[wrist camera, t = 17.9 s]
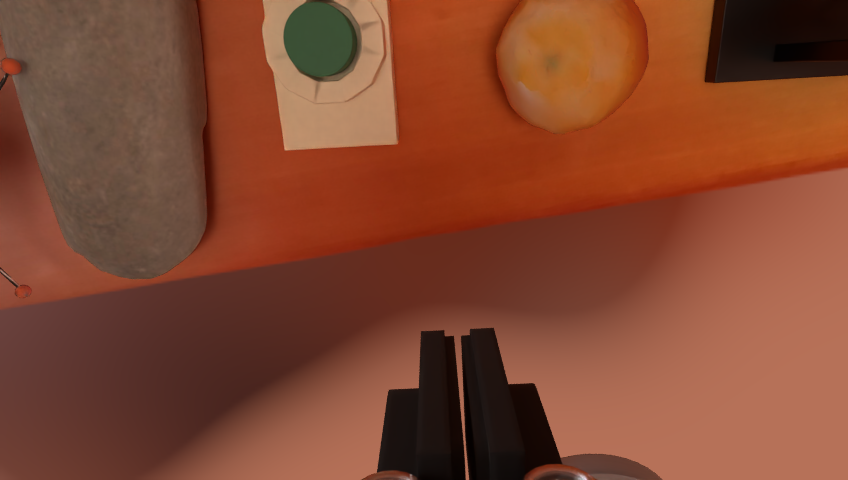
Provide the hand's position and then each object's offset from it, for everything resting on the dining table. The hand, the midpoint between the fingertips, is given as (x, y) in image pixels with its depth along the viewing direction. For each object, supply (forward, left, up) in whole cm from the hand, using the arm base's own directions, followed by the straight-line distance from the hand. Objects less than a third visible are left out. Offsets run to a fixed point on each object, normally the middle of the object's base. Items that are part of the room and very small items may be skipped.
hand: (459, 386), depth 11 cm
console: (+9, +6, -23) cm, 25 cm away
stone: (+7, +14, -19) cm, 25 cm away
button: (+9, +6, -20) cm, 22 cm away
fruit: (+7, -8, -23) cm, 26 cm away
